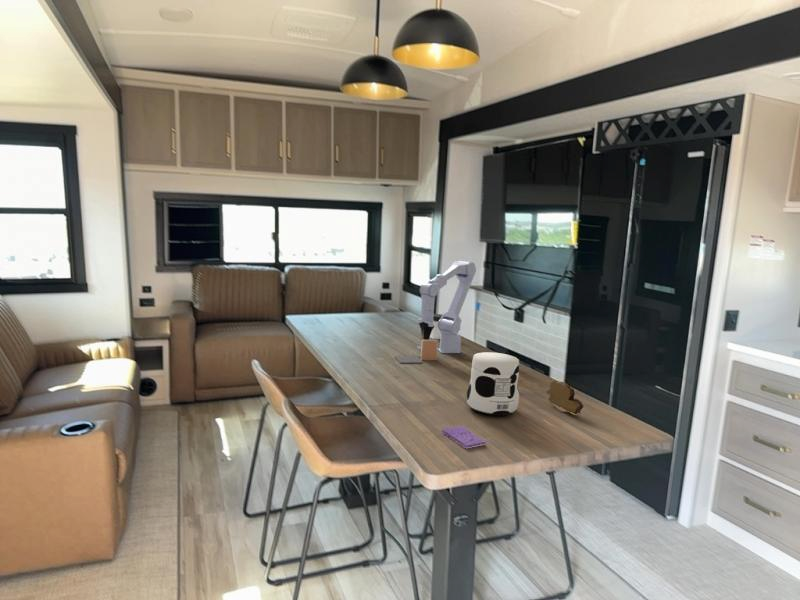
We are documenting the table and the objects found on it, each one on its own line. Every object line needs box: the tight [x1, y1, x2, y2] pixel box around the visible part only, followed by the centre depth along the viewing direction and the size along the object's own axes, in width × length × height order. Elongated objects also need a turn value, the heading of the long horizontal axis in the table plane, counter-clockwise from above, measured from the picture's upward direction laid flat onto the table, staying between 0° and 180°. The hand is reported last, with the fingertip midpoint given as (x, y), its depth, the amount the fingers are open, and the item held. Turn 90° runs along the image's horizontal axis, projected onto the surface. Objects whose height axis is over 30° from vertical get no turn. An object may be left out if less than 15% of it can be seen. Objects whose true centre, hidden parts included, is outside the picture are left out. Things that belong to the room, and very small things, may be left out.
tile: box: [420, 339, 439, 361], centre depth 238 cm, size 7×1×9 cm, turn 104°
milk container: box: [466, 351, 520, 416], centre depth 178 cm, size 17×17×18 cm
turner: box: [416, 333, 424, 352], centre depth 242 cm, size 7×6×9 cm
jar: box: [429, 313, 443, 340], centre depth 282 cm, size 9×8×12 cm
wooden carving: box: [545, 380, 584, 415], centre depth 182 cm, size 16×5×10 cm, turn 28°
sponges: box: [441, 425, 487, 448], centre depth 155 cm, size 7×13×2 cm, turn 28°
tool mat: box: [394, 355, 423, 365], centre depth 235 cm, size 10×10×1 cm
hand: (425, 339), depth 243 cm, fingers closed on turner, 2 cm apart
